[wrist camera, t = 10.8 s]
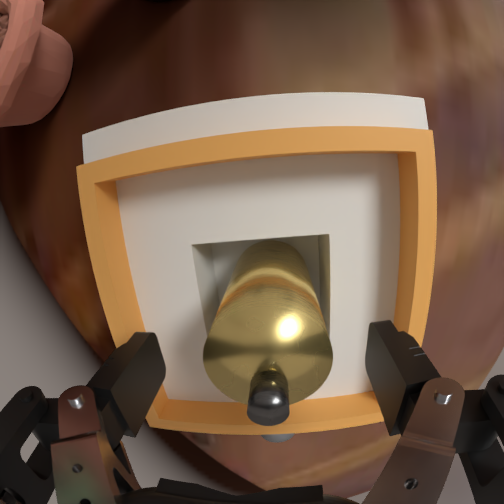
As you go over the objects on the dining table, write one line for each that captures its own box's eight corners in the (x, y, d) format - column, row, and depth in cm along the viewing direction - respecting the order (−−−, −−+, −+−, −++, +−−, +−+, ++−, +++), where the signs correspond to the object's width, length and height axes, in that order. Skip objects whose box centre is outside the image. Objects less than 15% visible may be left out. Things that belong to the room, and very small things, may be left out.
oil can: (230, 242, 18) (178, 332, 8) (306, 237, 17) (346, 325, 7) (238, 309, 19) (207, 434, 9) (308, 305, 19) (334, 430, 8)
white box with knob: (130, 141, 18) (59, 132, 11) (383, 116, 17) (442, 90, 9) (183, 399, 24) (159, 463, 17) (374, 390, 23) (397, 454, 15)
